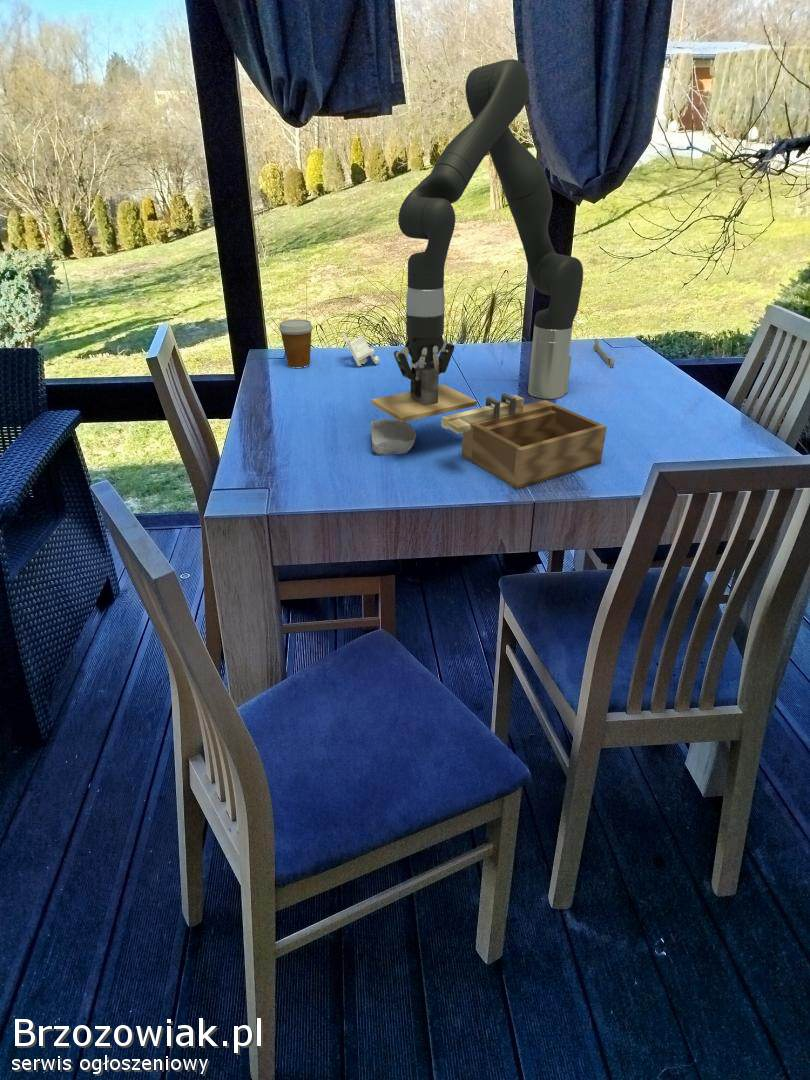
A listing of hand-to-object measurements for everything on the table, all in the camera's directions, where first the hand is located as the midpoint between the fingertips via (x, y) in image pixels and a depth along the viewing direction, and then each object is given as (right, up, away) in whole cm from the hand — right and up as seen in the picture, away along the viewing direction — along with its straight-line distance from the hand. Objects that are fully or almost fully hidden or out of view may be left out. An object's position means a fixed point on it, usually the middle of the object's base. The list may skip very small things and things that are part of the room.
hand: (423, 394), depth 143 cm
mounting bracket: (-17, +21, +57) cm, 63 cm away
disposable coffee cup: (-34, +20, +54) cm, 67 cm away
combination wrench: (+55, +23, +59) cm, 84 cm away
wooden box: (+22, -14, -2) cm, 26 cm away
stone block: (-6, -10, +6) cm, 13 cm away
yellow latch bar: (+13, -6, -6) cm, 15 cm away
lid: (0, -2, +1) cm, 2 cm away
